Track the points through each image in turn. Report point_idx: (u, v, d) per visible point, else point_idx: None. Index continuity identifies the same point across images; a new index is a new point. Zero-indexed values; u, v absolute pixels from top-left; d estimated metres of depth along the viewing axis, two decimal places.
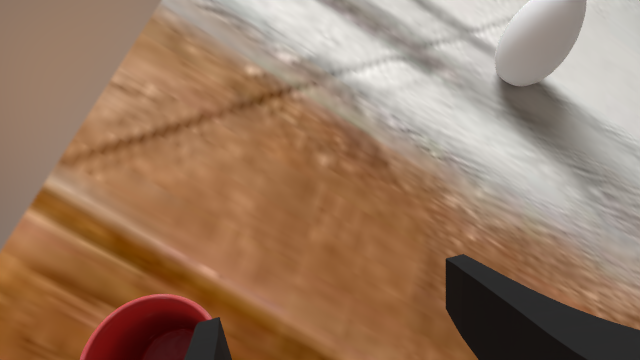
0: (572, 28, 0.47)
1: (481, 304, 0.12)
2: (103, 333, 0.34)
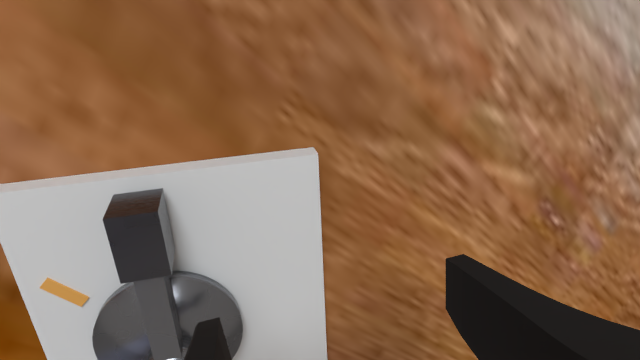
0: None
1: (481, 304, 0.12)
2: None
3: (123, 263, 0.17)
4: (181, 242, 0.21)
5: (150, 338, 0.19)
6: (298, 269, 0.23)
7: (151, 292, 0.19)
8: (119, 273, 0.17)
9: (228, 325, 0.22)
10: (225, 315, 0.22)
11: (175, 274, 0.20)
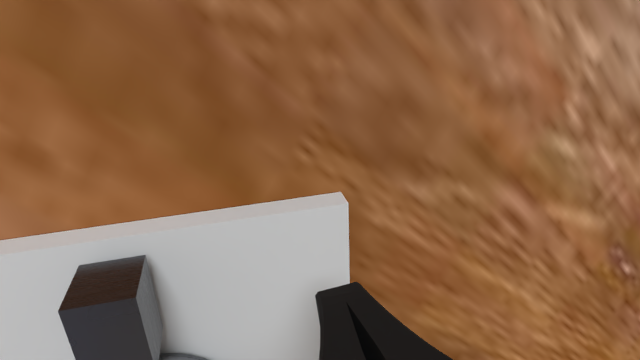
0: None
1: (360, 338, 0.11)
2: None
3: None
4: (171, 317, 0.16)
5: None
6: None
7: None
8: None
9: None
10: None
11: None
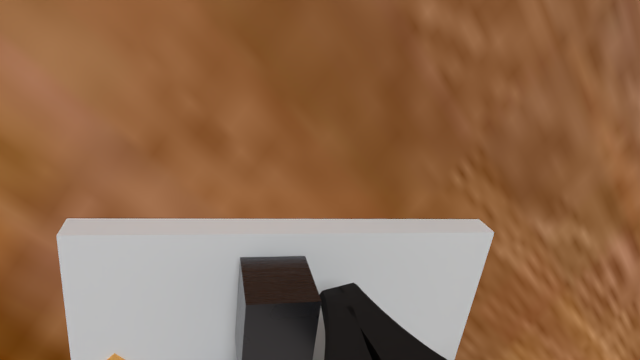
0: None
1: None
2: None
3: None
4: None
5: None
6: None
7: None
8: None
9: None
10: None
11: None
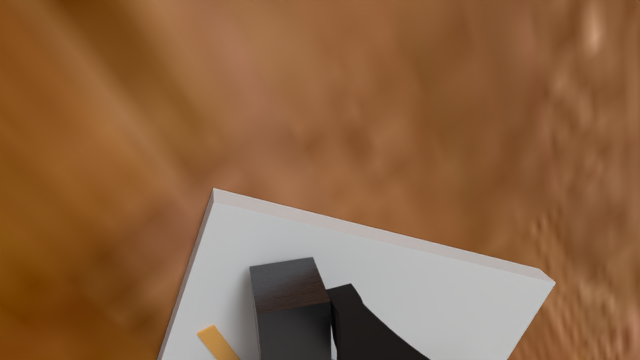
0: None
1: None
2: None
3: None
4: None
5: None
6: None
7: None
8: None
9: None
10: None
11: None
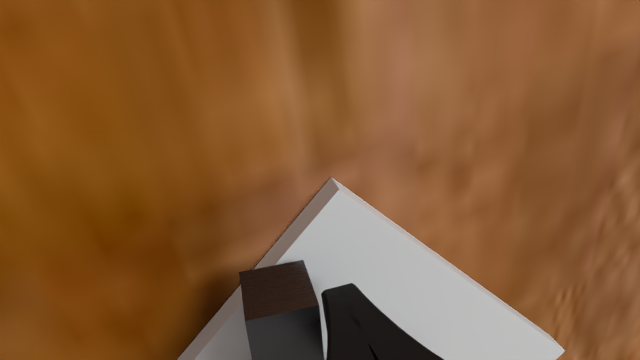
0: None
1: None
2: None
3: None
4: None
5: None
6: None
7: None
8: None
9: None
10: None
11: None
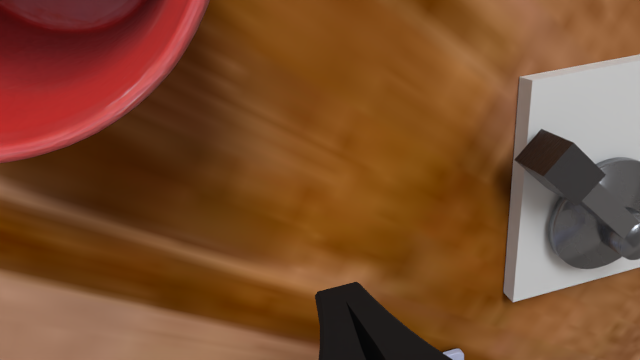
0: None
1: (360, 338, 0.11)
2: None
3: (571, 192, 0.21)
4: None
5: (611, 225, 0.23)
6: None
7: (595, 196, 0.22)
8: (572, 200, 0.22)
9: None
10: (639, 174, 0.24)
11: None
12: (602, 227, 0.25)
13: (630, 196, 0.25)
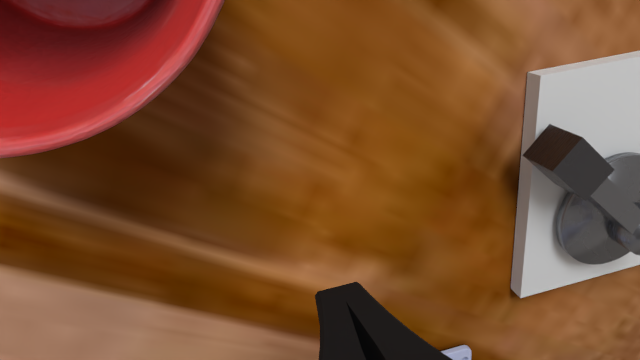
0: None
1: (360, 338, 0.11)
2: None
3: (580, 187, 0.21)
4: None
5: (620, 220, 0.23)
6: None
7: (604, 191, 0.22)
8: (581, 195, 0.21)
9: None
10: None
11: None
12: (610, 222, 0.25)
13: (638, 191, 0.25)
